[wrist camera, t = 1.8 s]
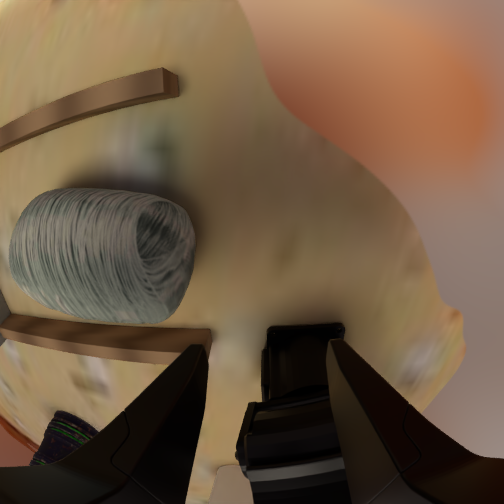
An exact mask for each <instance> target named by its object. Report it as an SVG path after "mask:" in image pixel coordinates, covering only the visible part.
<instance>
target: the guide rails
mask: <svg viewBox="0 0 504 504" xmlns="http://www.w3.org/2000/svg"><path fill="white" fill-rule="evenodd" d="M173 97H179V93H178V78H177V75H176V74H174V73H172V72H170V71H168V70H166V69H164V68H158V69H153V70H149V71H144V72H140V73H136V74H133V75H129V76H125V77H122V78H118V79H115V80H111V81H108V82H105V83H102V84H99V85H96V86H93V87H90V88H87V89H84V90H82V91H79V92H76V93H73V94H71V95H68V96H66V97H63V98H61V99H58V100H56V101H54V102H51V103H49V104H47V105H45V106H42V107H40V108H38V109H36V110H34V111H32V112H30V113H28V114H26V115H24V116H22V117H20V118H18V119H16V120H14V121H12V122H10V123H8V124H7V125H5V126H3V127H1V128H0V152H2V151H4V150H6V149H8V148H10V147H12V146H15V145H17V144H19V143H21V142H24V141H26V140H28V139H31V138H33V137H35V136H38V135H40V134H43V133H46V132H48V131H51V130H53V129H56V128H59V127H62V126H64V125H67V124H70V123H73V122H76V121H79V120H82V119H86V118H89V117H92V116H96V115H99V114H102V113H106V112H110V111H113V110H117V109H121V108H125V107H129V106H134V105H138V104H142V103H147V102H152V101H157V100H162V99H168V98H173ZM0 332H1V334H2V336H3V338H7V339H10V340H14V341H18V342H22V343H26V344H30V345H35V346H39V347H44V348H48V349H53V350H58V351H63V352H69V353H74V354H80V355H86V356H92V357H99V358H106V359H114V360H122V361H130V362H140V363H151V364H163V365H170V364H171V363H172V362H173V361H174V360H175V359H176V358H177V357H178V356H179V355H180V354H181V353H182V352H183V351H184V350H185V349H186V348H187V347H188V346H189V345H190V344H193V343H195V344H203V345H204V346H205V349H206V354H207V358H208V359H209V354H210V350H211V345H212V339H211V334H210V329H175V328H148V327H129V326H114V325H101V324H90V323H79V322H70V321H61V320H52V319H44V318H37V317H30V316H23V315H17V314H10V315H9V316H8V317H7V318H6V319H5V320H4V321H3V322H2V324H1V325H0Z"/></svg>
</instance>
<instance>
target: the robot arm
mask: <svg viewBox="0 0 504 504" xmlns="http://www.w3.org/2000/svg"><path fill="white" fill-rule="evenodd" d="M339 328H341V329H340V330H337V329H339ZM271 333H275V334H271ZM344 333H345V327H344V325H343V324H342V323H333V324H320V325H305V326H287V327H271V328H269V329H268V330H267V349H263V350H262V359H261V391H262V402H249V403H248V407H247V410H246V412H245V416H244V419H243V423H242V426H241V430H240V433H239V437H238V440H237V444H236V450H237V451H236V452H235V457H236V459H237V460H238V461H239V464H240V468H241V471H242V473H243V475H244V476H245V477H246V478H247V479H249V481H250V486H251V490H252V496H253V503H254V504H504V459H502V458H490V457H483V456H479V455H476V454H474V453H472V452H470V451H469V450H467V449H466V448H464V447H463V446H462V445H460V444H459V443H457V442H456V441H454V440H453V439H452V438H450V437H449V436H448V435H446V434H445V433H444V432H442V431H441V430H440V429H438V428H437V427H436V426H435V425H433V424H432V423H431V422H429V421H428V420H427V419H426V418H425V417H424V416H423V415H422V414H421V413H419V412H418V411H417V410H416V409H415V408H414V407H413V406H412V405H411V404H409V402H408V401H407V400H406V399H405V398H404V397H403V396H401V395H400V394H399V393H398V392H397V391H396V390H395V389H394V388H393V387H392V386H391V385H390V384H389V383H388V382H387V381H386V380H385V379H384V378H383V377H382V376H381V375H380V374H378V373H377V372H376V371H375V370H374V369H373V368H372V367H371V366H370V365H369V364H368V363H367V362H366V361H365V360H364V359H363V358H362V357H361V356H360V355H359V354H358V353H357V352H356V351H354V350H353V349H352V348H351V347H350V346H349V345H348V344H347V343H346V342H345V341H344V340H343V339H344ZM208 369H209V363H208V358H207V354H206V349H205V346H204V345H203V344H195V343H193V344H190V345H189V346H188V347H187V348H186V349H185V350H184V351H183V352H182V353H181V354H180V355H179V356H178V357H177V358H176V359H175V360H174V361H173V362H172V363H171V364H170V365H169V366H168V367H167V368H166V369H165V370H164V371H163V372H162V373H161V374H160V375H159V376H158V377H157V378H156V379H155V380H154V381H153V382H152V383H151V384H150V385H149V386H148V387H147V388H146V389H145V390H144V391H143V392H142V393H141V394H140V395H139V396H138V397H137V398H136V399H135V400H134V401H133V402H131V403H130V404H129V405H128V406H127V407H126V408H125V409H124V411H125V412H124V411H122V412H121V413H120V414H119V415H118V416H117V417H116V418H115V419H114V420H113V421H111V422H110V423H109V424H108V425H107V426H106V427H105V428H104V429H102V430H101V431H100V432H99V433H97V434H96V435H95V436H94V437H92V438H91V439H90V440H88V441H87V442H86V443H84V444H83V445H82V446H80V447H79V448H77V449H76V450H75V451H73V452H72V453H71V454H69V455H68V456H66V457H65V458H63V459H61V460H59V461H57V462H54V463H51V464H45V465H34V466H18V467H0V504H185V501H186V496H187V491H188V487H189V482H190V477H191V472H192V467H193V463H194V458H195V453H196V449H197V444H198V439H199V435H200V430H201V425H202V421H203V416H204V411H205V403H206V392H207V380H208Z"/></svg>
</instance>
